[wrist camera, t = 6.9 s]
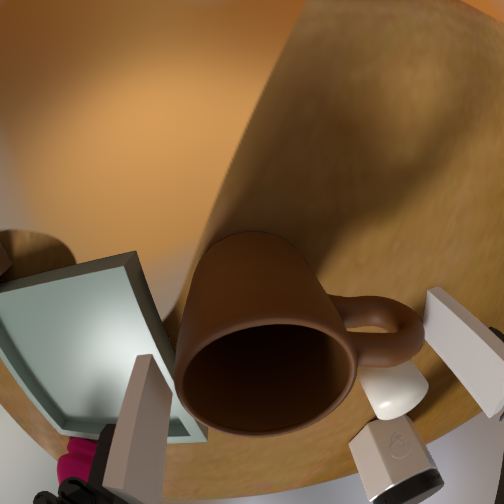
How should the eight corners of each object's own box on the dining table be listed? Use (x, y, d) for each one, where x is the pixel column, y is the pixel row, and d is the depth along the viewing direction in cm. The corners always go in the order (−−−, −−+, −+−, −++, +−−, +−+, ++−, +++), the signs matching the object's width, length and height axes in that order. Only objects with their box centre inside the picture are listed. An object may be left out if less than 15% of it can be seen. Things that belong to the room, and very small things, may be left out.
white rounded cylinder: (407, 336, 22) (434, 371, 17) (399, 372, 24) (421, 407, 19) (358, 352, 22) (380, 392, 17) (355, 388, 24) (372, 426, 19)
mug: (368, 216, 18) (463, 276, 9) (361, 313, 21) (421, 400, 12) (183, 234, 17) (144, 322, 8) (203, 334, 20) (194, 445, 11)
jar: (416, 401, 27) (458, 473, 15) (405, 432, 29) (436, 494, 18) (349, 427, 27) (380, 511, 15) (346, 454, 30) (370, 524, 18)
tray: (136, 250, 17) (123, 265, 15) (208, 421, 24) (207, 441, 22) (-16, 287, 17) (-31, 300, 15) (67, 419, 24) (60, 434, 21)
